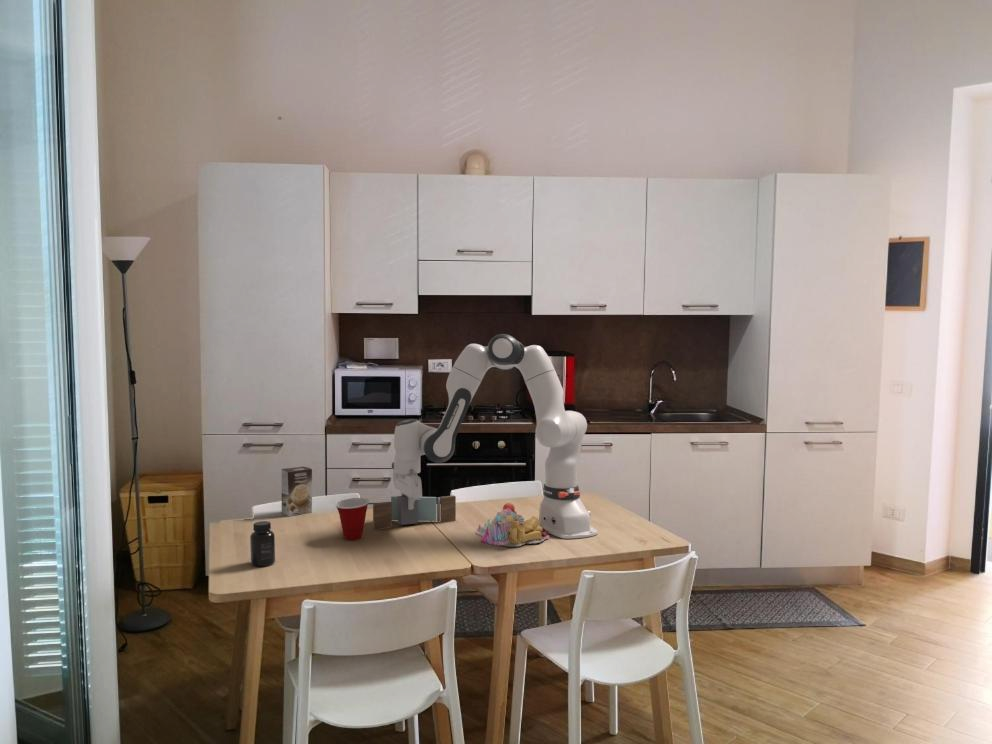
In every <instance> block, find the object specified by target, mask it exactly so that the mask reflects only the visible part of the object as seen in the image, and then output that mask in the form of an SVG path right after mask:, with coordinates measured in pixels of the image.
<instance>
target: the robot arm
mask: <svg viewBox="0 0 992 744" xmlns="http://www.w3.org/2000/svg"><path fill="white" fill-rule="evenodd" d="M514 368H516V369H518V371H520V373H521V375H522V377H523V381H524V384H525V385H526V388H527V390H528V392H529V395H530V398H531V400H532V403H533V406H534V411H535V418H536V419H535V420H536V427H535V430H534V431H535V433H534V434H535V437H536V440H537V441H538V443H539V445H542V446H543V447H544V448H549V453H548V455H547V458H546V460H545V462H544V484H543V488H542V493H543V498H542V501H541V502H540V504H539V511H538V512H539V514H538V520H540V521H541V522H540V523H539V525H540V526H541V527H542V528H544V529H545V530H546V531H548V533H549V534H550V535H552V536H555V537H557V538H560V539H567V540H568V539H580V538H581V539H582V538H589V537H593V536H596V535H598V534H599V533H598V530H597V529H596V528H595V527H594V526H592V525H591V516H592V515H591V511H590V510H587V508H586V507H585V504H584V503H583V502H582V499H581V498H580V497H581V490H580V488H579V485H578V472H579V471H578V470H579V469H578V468H579V467H578V465H579V459H580V455H581V453H580V452H581V449H582V444H583V440H584V436H585V434H586V432H587V428H588V422H587V419H586V417H585V416H584V415H583V413H580V412H578V411H574V410H566V409H565V404H564V388H563V386H562V383H561V381H560V379H559V376H558V374H557V372H556V369H555V367H554V365H553V363H552V361H551V359H550V357H549V355H548V353H547V352H546V351H545V349H544V348H543V347H542V346H541V345H537V344H532V345H529V346H525V345H523V344H522V342H520V341H518V340H517V339H516V338H515V337H514V336H512V335H510V334H506V333H501V334H500V333H499V334H497V335H494V337H492V338H491V339H490V340H489V342H488V345H487V346H483V345H482V344H478V343H470V344H468V345H466V346H465V347H464V348H463V350H462V351H461V353H459V356H458V357H457V359H456V360H455V362H454V364H453V366H452V367H451V370H450V372H449V374H448V376H447V380H446V382H445V383H446V384H445V388H446V392H447V396H448V406H447V409H446V410H445V412H444V415H443V417H442V420H441V422H440V424H439V426H438V428H436V427H434V426H429V425H427V424H424V423H422V422H421V421H419V420H418V419H415V418H408V419H407V418H406V419H404V420H401V421H399V422H398V423H396V425H395V428H394V435H393V436H394V439H393V444H394V445H393V446H394V452H395V454H394V458H393V459H394V461H392V462H391V466H390V467H391V469H392V478H393V479H392V480H393V486H394V488H395V489H396V490H397V491H398V492H400V496H407V497H408V504H407V508H408V509H409V510H411V509H413V508H414V501H415V500H420V499H421V498H422V497H423V488H422V487H423V486H422V479H421V477H420V476H419V475H418V474H420V473H421V467H422V466H421V456H424V455H425V457H426V458H427V459H428V460H429V461H431V462H432V463H436V464H442V463H445V462H447V461H448V460H450V459H451V458H452V457H453V455H454V453H455V449H456V441H457V440H456V439H457V435H458V433H459V430H460V428H461V426H462V423H463V421H464V419H465V417H466V415H467V412H468V409H469V407H470V404H471V403H472V401H473V398H474V396H475V394H476V393H477V391H478V390H479V389H478V388H479V387H480V385H481V383H482V381H483V379H484V377H485V375H486V373H487V372H488V370H489V369H492V370H500V371H511V370H512V369H514Z"/></svg>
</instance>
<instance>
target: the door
mask: <svg viewBox="0 0 992 744" xmlns="http://www.w3.org/2000/svg"><path fill="white" fill-rule="evenodd" d="M390 502H391V503H392V521H398V507H397V496H393V495H392V496H391V497H390ZM440 509H441V496H439V497H436V496H422V498H421V499H420V500H418V522H441V521H440Z"/></svg>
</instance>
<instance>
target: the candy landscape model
mask: <svg viewBox="0 0 992 744" xmlns="http://www.w3.org/2000/svg"><path fill="white" fill-rule="evenodd" d="M515 508H516V507H515V505H514V504H512V503H511V502H507V503H505V504H504V505H503V507H502V510H501V511H498V512H496V515H495V516H494V518H489V519H487V521H486V522H485V523H484V525H482V526H481V524H480V523H478V527H477V531H476V535H478V536H480V537H481V543H482V542H483V543H485V544H488V545H493V546H496V547H497V548H498V547H499V546H503V547H509V548H510V547H511V548H513V547H521V546H523V545H525V544H527V545H529V544H538V543H541V542H545V540H547V539H550V536H551V535H552V534H549V533H548V531H546V530H545V529H544V528H542V527H541V526H540V525H539V523H540V522H541V521H540V520H539V518H537V517H536V516H532V517H531V518H529V519H527V520H526V521H525V517H523V515H521V514H518V513H517V511H516V509H515Z"/></svg>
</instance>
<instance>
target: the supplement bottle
mask: <svg viewBox="0 0 992 744" xmlns="http://www.w3.org/2000/svg"><path fill="white" fill-rule="evenodd" d="M252 527H253V532H252V533H251V534H250V537H249V538H250V539H249V540H250V541H249V542H250V545H249V546H250V547H249V548H250V564H251V566H253V567H259V568H260V567H261V568H262V567H263V568H264V567H269V566H272V565H274V564H275V562H276V546H275V545H276V544H275V543H276V541H275V533H274V531H272V530H271V529H272V525H271V521H268V520H262V521H255V522H254V523H253V526H252Z"/></svg>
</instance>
